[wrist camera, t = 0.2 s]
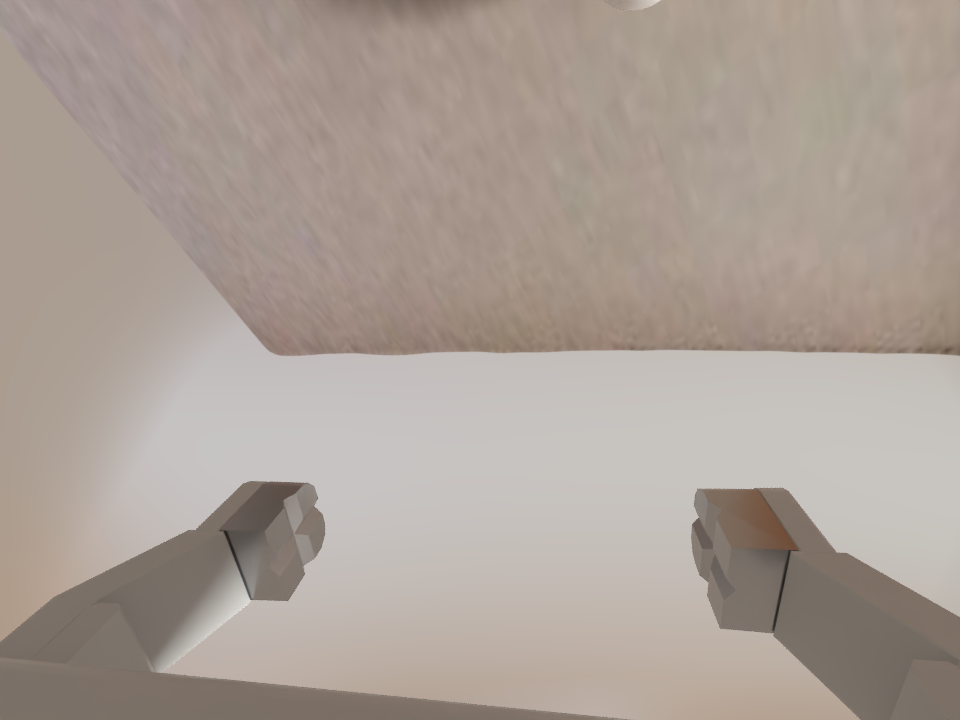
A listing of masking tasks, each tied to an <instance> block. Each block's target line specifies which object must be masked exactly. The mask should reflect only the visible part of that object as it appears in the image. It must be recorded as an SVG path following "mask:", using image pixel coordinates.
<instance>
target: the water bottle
mask: <svg viewBox="0 0 960 720" xmlns="http://www.w3.org/2000/svg"><path fill="white" fill-rule="evenodd" d="M604 1H605V2H606V3H608V4H609V5H611V6H612V7H615V8H617V9H620V10H627V11H632V10H640V9H644V8H647V7H650V6H652V5H654V4H655V3H657V2H659V1H660V0H604Z"/></svg>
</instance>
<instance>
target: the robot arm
mask: <svg viewBox="0 0 960 720" xmlns="http://www.w3.org/2000/svg"><path fill="white" fill-rule="evenodd" d="M317 499H318V497H317V494H316V491H315V488H314V486H313V485H311V484H309V483H294V482H257V481H250V482H247V483H243V484H242V485H241V486H240V487H239V488H238V489H237V490H236V491H235V492H234V493H233V494H232V495H231V496H230V497H229V498H228V499H227V500H226V501H225V502H224V503H223V504H222V505H221V506H220V507H219V508H218V509H217V510H215V511H214V513H212V514H211V515H210V516H209V517H208V518H207V519H206V520H205V521H204V522H203V523H202V524H201V525H200V526H199V527H198V528H197V529H196V530H188V531H186V532H184V533H182V534H180V535H178V536H176V537H174V538H172V539H170V540H168V541H166V542H164V543H162V544H160V545H158V546H156V547H154V548H152V549H150V550H148V551H146V552H144V553H142V554H140V555H138V556H136V557H134V558H132V559H130V560H128V561H126V562H124V563H122V564H120V565H118V566H116V567H114V568H112V569H110V570H107V571H105V572H104V573H102V574H100V575H98V576H95V577H93V578H91V579H89V580H87V581H86V582H83V583H82V584H80V585H77V586H75V587H73V588H71V589H69V590H67V591H65V592H63V593H61V594H59V595H57V596H55V597H54V598H52V599H51V600H50V601H49V602H48V603H46V604H45V605H44V606H43V607H42V608H41V609H39V610H38V611H37V612H36V613H35V614H33V615H32V616H31V617H30V618H29V619H27V620H26V621H25V622H24V623H23V624H21V625H20V626H19V627H18V628H17V629H15V630H14V631H13V632H12V633H11V634H9V635H8V636H7V637H6V638H5V639H3V640H2V641H1V642H0V720H628V719H618V718H608V717H597V716H587V715H576V714H567V713H556V712H546V711H536V710H526V709H516V708H505V707H496V706H487V705H477V704H467V703H457V702H445V701H437V700H427V699H416V698H406V697H397V696H386V695H377V694H366V693H357V692H347V691H336V690H327V689H317V688H307V687H297V686H287V685H277V684H267V683H257V682H246V681H237V680H226V679H217V678H206V677H196V676H187V675H176V674H167V673H163V672H164V671H165V670H166V669H168V668H169V667H170V666H172V665H173V664H174V663H175V662H177V661H178V660H179V659H180V658H182V657H183V656H184V655H185V654H187V653H188V652H189V651H190V650H192V649H193V648H194V647H195V646H196V645H198V644H199V643H200V642H202V641H203V640H204V639H205V638H206V637H208V636H209V635H210V634H212V633H213V632H214V631H215V630H216V629H218V628H219V627H220V626H221V625H223V624H224V623H225V622H226V621H228V620H229V619H230V618H231V617H233V616H234V615H235V614H236V613H238V612H239V611H240V610H241V609H243V608H244V607H245V606H246V605H248V604H249V603H250V602H251V601H250V600H277V601H288V600H289V599H290V597H291V596H292V594H293V592H294V591H295V589H296V588H297V586H298V584H299V583H300V581H301V580H302V578H303V576H304V575H305V572H304V565H305V564H307V563H308V562H310V561H311V560H313V559H314V558H315V557H316V556H317V554H318V552H319V551H320V549H321V547H322V543H323V540H324V536H325V522H324V519H323V515H322V513H321V512H319V511H318V509H317V508H315V507H314V505H315V503H316V501H317ZM694 502H695V503H694V506H695V509H696V511H697V514H698V516H699V518H698V519H697V520H696V521H695V522H694V523H693V524H692V536H691V537H692V538H691V539H692V549H693V555H694V559H695V563H696V566H697V569H698V572H699V575H700V576H701V577H703V578H704V579H705V580H706V581H707V582H709V585H708V594H707V596H708V598H709V601H710V603H711V606H712V609H713V611H714V614H715V616H716V619H717V622H718V624H719V627H720V628H721V629H733V630H743V631H755V632H765V633H774V637H775V638H776V639H778V640H779V641H780V642H781V643H782V644H783V645H784V646H785V647H786V648H787V649H788V650H789V651H790V652H791V653H792V654H793V655H794V656H795V657H796V658H797V659H798V660H799V661H800V662H801V663H803V665H805V666H806V667H807V668H808V669H809V670H810V671H811V672H812V673H813V674H814V675H815V676H816V677H817V678H818V679H819V680H820V681H821V682H822V683H823V684H824V685H825V686H826V687H827V688H829V689H830V690H831V691H832V692H833V693H834V694H835V695H836V696H837V697H838V698H839V699H840V700H841V701H842V702H843V703H844V704H845V705H846V706H847V707H848V708H849V709H851V710H852V712H854V713H855V714H856V715H857V716H858V717H859V718H860V719H861V720H960V617H958V616H957V615H955V614H953V613H951V612H950V611H948V610H946V609H944V608H942V607H941V606H939V605H937V604H935V603H933V602H932V601H930V600H928V599H927V598H925V597H923V596H921V595H920V594H918V593H916V592H914V591H913V590H911V589H909V588H907V587H905V586H904V585H902V584H900V583H898V582H897V581H895V580H893V579H891V578H890V577H888V576H886V575H884V574H883V573H880V572H879V571H877V570H876V569H874V568H872V567H870V566H869V565H867V564H865V563H863V562H861V561H860V560H858V559H856V558H854V557H853V556H851V555H849V554H847V553H837V552H836V551H835V550H834V548H833V547H832V546H831V545H830V543H829V542H828V541H827V540H826V538H825V537H824V536H823V535H822V533H821V532H820V531H819V529H818V528H817V527H816V526H815V524H814V523H813V522H812V521H811V519H810V518H809V517H808V515H807V514H806V513H805V511H804V510H803V509H802V508H801V506H800V505H799V504H798V503H797V501H796V500H795V499H794V497H793V496H792V495H791V494H790V492H789V491H787V490H786V489H784V488H754V489H697V492H696V494H695V501H694Z"/></svg>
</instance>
